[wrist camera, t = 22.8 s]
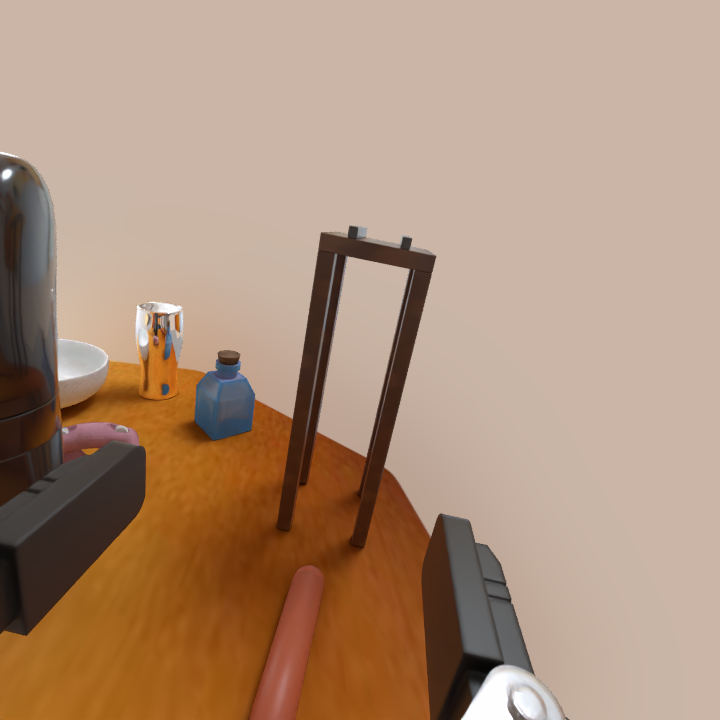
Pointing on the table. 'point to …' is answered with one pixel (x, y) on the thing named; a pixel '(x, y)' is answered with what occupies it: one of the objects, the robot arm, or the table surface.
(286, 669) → the sausage
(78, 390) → the cereal bowl
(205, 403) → the perfume bottle
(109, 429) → the video game controller
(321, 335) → the shelf stand
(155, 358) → the silver metal tumbler
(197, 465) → the table surface
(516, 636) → the robot arm
